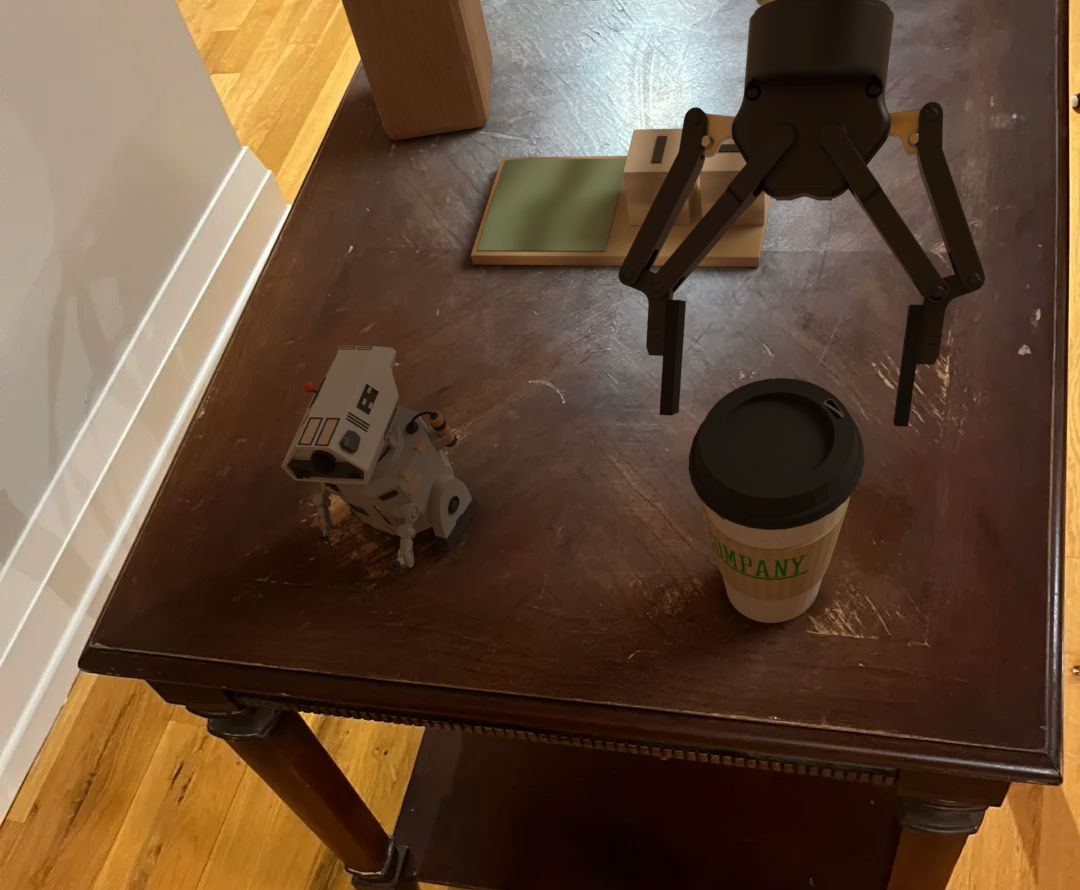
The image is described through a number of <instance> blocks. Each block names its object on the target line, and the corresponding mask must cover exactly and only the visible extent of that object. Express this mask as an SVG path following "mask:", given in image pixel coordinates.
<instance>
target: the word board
mask: <svg viewBox="0 0 1080 890" xmlns="http://www.w3.org/2000/svg"><path fill="white" fill-rule="evenodd" d="M682 128H683V127H682ZM682 128H681V127H680V128H648V129H647V128H644V129H643V128H642V129H641V128H640V129H638V128H637V129H636V128H635V129H633V131H632V135H631V140H630V144H629V148H628V152H627V155H588V156H587V155H585V156H584V155H580V156H576V155H575V156H524V157H523V156H521V157H519V156H518V157H501V159H500V162H499V166H498V169H497V172H496V175H495V178H494V181H493V183H492V187H491V191H490V193H489V197H488V200H487V203H486V206H485V209H484V213H483V216H482V219H481V222H480V225H479V228H478V231H477V234H476V238H475V240H474V243H473V247H472V250H471V253H470V258H471V262H472V265H482V266H483V265H485V266H487V265H489V266H490V265H493V266H494V265H496V266H498V265H499V266H500V265H501V266H502V265H503V266H593V267H594V266H595V267H596V266H597V267H598V266H599V267H601V266H603V267H604V266H606V267H607V266H609V267H616V266H617V267H621V266H622V264H623V262H624V260H625V258H626V256H627V254H628V252H629V250H630V248H631V246H632V244H633V242H634V240H635V238H636V236H637V234H638V232H639V230H640V228H641V226H642V224H643V222H644V220H645V218H646V216H647V214H648V212H649V210H650V208H651V206H652V204H653V202H654V200H655V198H656V196H657V194H658V192H659V190H660V188H661V186H662V184H663V182H664V180H665V178H666V176H667V174H668V172H669V170H670V168H671V166H672V164H673V162H674V160H675V158H676V156H677V154H678V152H679V147H680V141H681V134H682ZM746 164H747V163H746V162H745V160H744V158H743V157H742V155H741V153H740V151H739V150H738V148H737V146H736V144H735V143H734V141H733V139H728V140H726V141H724V142H723V143H722V144H721V146H720V149H719V151H718V152H717V154H716V155H714V156H713V157H706V158H705V162H704V165H703V168H702V170H701V172H700V174H699V177H698V179H697V181H696V182H695V184H694V186H693V188H692V190H691V192H690V194H689V196H688V198H687V200H686V202H685V204H684V206H683V208H682V210H681V212H680V214H679V216H678V218H677V219H676V221H675V223H674V225H673V227H672V229H671V231H670V233H669V235H668V237H667V239H666V241H665V243H664V245H663V247H662V249H661V251H660V253H659V255H658V256H657V258H656V260H655V262H654V264H653V266H652V267H662V266H663V265H664V263H665V262H666V261H667V260H668V259H669V257H670V256H671V255H672V254H673V253H674V251H675V250H676V249H677V248H678V247H679V246H680V244H681V243H682V242H683V241H684V240H685V238H686V237H687V236H688V235H689V234H690V232H691V231H692V230H693V229H694V228H695V227H696V225H697V224H698V223H699V222H700V221H701V219H702V218H703V217H704V216H705V215H706V213H707V212H708V211H709V210H710V209H711V208H712V206H713V205H714V204H715V203H716V202H717V200H718V199H719V198H720V197H721V196H722V194H723V193H724V192H725V191H726V189H727V187H728V186H729V184H730V183H731V182H732V180H733V179H734V178H735V177H736V175H737V174H738V173H739V172H740V171H741V170H742V168H743V167H744V166H745V165H746ZM771 198H772V197H770V196H768V195H767V194H766V193H765V192H764V191H763V192H762V193H761V194H760V195H759V197H758V198H757V199H756V200H755V201H754V202H753V203H752V205H751V206H750V207H749V208H747V209H746V210H745V211H744V212H743V213H742V215H741V216H740V217H739V218H738V219H737V220H736V222H735V223H734V224H733V225H732V226H731V227H730V228H729V230H728V231H727V232H726V233H725V234H724V235H723V237H722V238H721V239H720V240H719V241H718V242H717V244H716V245H715V246H714V247H713V248H712V249H711V251H710V252H709V253H708V254H707V255H706V256H705V258H704V259H703V260H702V261H701V262H700V263H699V265H698V266H697V267H702V268H703V267H705V268H706V267H708V268H709V267H710V268H711V267H712V268H713V267H717V268H719V267H720V268H721V267H722V268H727V267H728V268H729V267H730V268H759V267H760V265H761V259H762V252H763V247H764V241H765V236H766V229H767V224H768V219H769V218H768V217H769V213H770V207H771V206H770V205H771V200H772V199H771Z"/></svg>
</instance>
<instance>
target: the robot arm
mask: <svg viewBox="0 0 1080 890" xmlns="http://www.w3.org/2000/svg"><path fill="white" fill-rule="evenodd" d="M754 1H755V3H756V4H757V5H759V7H758V8H756V10H755V11H754V13H753V14H752V15H751V16H750V17H749V21H748V35H747V48H746V58H745V59H746V61H745V72H744V73H745V74H744V84H743V85H744V87H743V97H742V100H741V104H740V107H739V109H738V111H737V113H736V114H735V116H734V115H733V116H731V115H724V114H715V113H706V112H705V111H704V110H703V109H702V108H700V107H698V106H695V107H691V108H689V109H688V110H687V111H686V113H685V114H684V117H683V122H682V134H681V141H680V147H679V152H678V154H677V156H676V158H675V160H674V162H673V164H672V166H671V168H670V170H669V172H668V174H667V176H666V178H665V180H664V182H663V184H662V186H661V188H660V190H659V192H658V194H657V196H656V198H655V200H654V202H653V204H652V206H651V208H650V210H649V212H648V214H647V216H646V218H645V220H644V222H643V224H642V226H641V228H640V230H639V232H638V234H637V236H636V238H635V240H634V242H633V244H632V246H631V248H630V250H629V252H628V254H627V256H626V258H625V260H624V262H623V264H622V266H620V268H619V270H618V279H619V282H620V283H621V284H622V285H624V286H626V287H629V288H632V289H634V290H636V291H639V292H641V293H642V294H644V296H645V297H646V299H647V304H648V306H647V326H646V342H645V347H646V350H647V354H648V356H655V357H656V356H657V357H662V366H661V381H660V382H661V384H660V396H659V397H660V399H659V402H660V403H659V413H658V414H659V416H674V415H676V414H678V413H679V412H680V401H681V384H682V368H683V354H684V341H685V340H684V337H685V324H686V309H687V300H684V299H683V300H682V299H674V296H675V295H674V294H675V293H676V291H678V289H679V288H680V287H681V286H682V284H684V282H685V281H686V280H687V279H688V277H689V276H690V275H692V273H693V272H694V270H695V269H696V268H697V267H699V266H698V265H699V263H700V262H701V261H702V260H703V259H704V258H705V256H706V255H707V254H708V253H709V252H710V251H711V249H712V248H713V247H714V246H715V245H716V244H717V242H718V241H719V240H720V239H721V238H722V237H723V235H724V234H725V233H726V232H727V231H728V230H729V228H730V227H731V226H732V225H733V224H734V223H735V222H736V220H737V219H738V218H739V217H740V216H741V215H742V213H743V212H744V211H745V210H746V209H747V208H749V207H750V206H751V205H752V203H753V202H754V201H755V200H756V199H757V198H758V197H759V195H760V194H761V193H762V192H763V191H764V192H765V193H766V194H767V195H768V196H770V197H771V198H772V199H775V200H776V201H777V202H778V201H779V202H781V201H786V202H787V201H789V202H791V201H794V200H798V199H800V198H807V199H811V200H815V201H819V202H820V201H822V202H824V201H827V202H828V201H833V199H836V198H838V197H841V196H842V195H843V194H845V193H846V192H847V191H849V193H850V194H851V195H852V197H854V199H855V201H856V202H857V204H858V205H859V207H860V208H861V210H863V212H864V213H865V215H866V216H867V218H868V219H869V221H870V223H872V225H873V227H874V228H875V230H876V231H877V233H878V234H879V236H880V237H881V238H882V240H883V241H884V243H885V244H886V246H887V247H888V249H889V250H890V251H891V253H892V254H893V256H894V258H895V259H896V260H897V261H898V263H899V265H900V266H901V267H902V269H903V270H904V272H905V274H906V275H907V277H908V278H909V279H910V282H912V284H913V286H914V287H915V288H916V290H917V291H918V292H919V294H920V295H921V297H922V302H921V304H908V307H907V315H906V322H905V330H904V336H903V345H902V352H901V353H902V354H901V361H900V367H899V375H898V383H897V390H896V391H897V392H896V398H895V399H896V400H895V407H894V414H893V422H892V423H893V426H894V427H909V423H910V415H911V407H912V400H913V393H914V392H913V391H914V386H915V379H916V378H915V377H916V370H917V365H927V366H928V365H929V366H930V365H931V366H934V365H935V364H936V362H937V360H938V358H939V356H940V349H941V342H942V337H943V330H944V322H945V316H946V315H945V314H946V310H947V307H948V305H949V303H950V302H951V301H953V300H954V299H956V298H960V297H962V296H965V295H968V294H971V293H974V292H976V291H978V290H980V289H981V288H982V287H983V286H984V285H985V282H986V274H985V271H984V268H983V265H982V262H981V259H980V256H979V254H978V250H977V247H976V244H975V242H974V238H973V235H972V232H971V229H970V226H969V223H968V220H967V217H966V214H965V211H964V208H963V206H962V202H961V200H960V196H959V194H958V191H957V188H956V185H955V182H954V179H953V176H952V174H951V173H952V172H951V170H950V167H949V164H948V161H947V158H946V155H945V152H944V149H943V139H944V138H943V137H944V133H943V132H944V130H943V129H944V110H943V106H942V105H941V103H938V102H937V101H930V102H927V103H925V104H924V105H923V106H921V108H917V109H911V110H904V111H896V112H889V110H888V107H887V103H886V89H887V80H888V71H889V64H890V54H891V46H892V37H893V28H894V21H895V20H894V19H895V13H894V12H893V10H891V6H889V4H888V3H886V2H888V1H889V0H754ZM890 137H894V138H896V139H897V140H898V141H899V143H900V145H901V148H902V151H903V152H904V153H905V154H906V155H908V156H916V162H917V167H918V170H919V175H920V178H921V180H922V183H923V186H924V188H925V192H926V195H927V197H928V201H929V203H930V206H931V210H932V212H933V216H934V217H935V221H936V224H937V227H938V230H939V233H940V235H941V238H942V242H943V245H944V248H945V250H946V253H947V256H948V259H949V262H950V265H951V268H952V271H953V274H951V275H948V276H945V277H943V276H942V275H941V274H940V272H939V271H938V269H937V268H936V266H935V265H934V263H933V261H932V260H931V259H930V258H929V256H928V254H927V253H926V252H925V250H924V249H923V247H922V246H921V244H920V243H919V241H918V240H917V238H916V237H915V235H914V234H913V232H912V231H911V230H910V228H909V226H908V225H907V224H906V222H905V221H904V219H903V218H902V217H901V214H900V213H899V212H898V211H897V209H896V207H895V206H894V204H893V203H892V202H891V200H890V198H889V197H888V196H887V194H886V193H885V191H884V189H883V188H882V186H881V184H880V183H879V182H878V179H877V178H876V176H875V175H874V173H872V171H871V169H870V168H869V167H868V165H869V164H870V162H871V161H872V160H873V159H874V157H875V156H876V155H877V153H878V152H879V151H880V150H881V148H882V147H883V146H884V145H885V143H886V142H887V140H888V138H890ZM728 139H733V141H734V143H735V144H736V146H737V148H738V150H739V151H740V153H741V155H742V157H743V158H744V160H745V162H746V163H747V164H746V165H745V166H744V167H743V168H742V170H741V171H740V172H739V173H738V174H737V175H736V177H735V178H734V179H733V180H732V182H731V183H730V184H729V186H728V187H727V189H726V191H725V192H724V193H723V194H722V196H721V197H720V198H719V199H718V200H717V202H716V203H715V204H714V205H713V206H712V208H711V209H710V210H709V211H708V212H707V213H706V215H705V216H704V217H703V218H702V219H701V221H700V222H699V223H698V224H697V225H696V227H695V228H694V229H693V230H692V231H691V232H690V234H689V235H688V236H687V237H686V238H685V240H684V241H683V242H682V243H681V244H680V246H679V247H678V248H677V249H676V250H675V251H674V253H673V254H672V255H671V256H670V257H669V259H668V260H667V261H666V262H665V263H664V265H663V266H660V268H659V269H658V270H657V271H656V272H654V271H652V268H653V267H654V266H653V264H654V262H655V260H656V258H657V256H658V255H659V253H660V251H661V249H662V247H663V245H664V243H665V241H666V239H667V237H668V235H669V233H670V231H671V229H672V227H673V225H674V223H675V221H676V219H677V218H678V216H679V214H680V212H681V210H682V208H683V206H684V204H685V202H686V200H687V198H688V196H689V194H690V192H691V190H692V188H693V186H694V184H695V182H696V181H697V179H698V177H699V174H700V172H701V170H702V168H703V165H704V162H705V158H706V157H713V156H714V155H716V154H717V152H718V151H719V149H720V146H721V144H722V143H723V142H724V141H726V140H728Z"/></svg>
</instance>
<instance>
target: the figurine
mask: <svg viewBox="0 0 1080 890" xmlns="http://www.w3.org/2000/svg"><path fill="white" fill-rule="evenodd" d="M396 357H397V350H395V349H394V348H393V347H392V346H379V345H378V346H377V345H340V347H339V348H338V351H337V354H336V356H335V358H334V359H333V361H332V363H331V365H330V367H329V368H328V370H327V372H326V374H325V376H324V377H323V379H322V380H321V382H320V384H319V385H318V387H317V389H315V386H314V384H313V383H312V382H309V381H308V382H305V383H304V385H303V390H304V391H305V392H306V393H309V394H310V393H312V392H313V395H312V398H311V400H310V402H309V405H308V406H307V409H306V411H305V413H304V416H303V417H302V420H301V422H300V424H299V427H298V429H297V430H296V433H295V435H294V436H293V439H292V442H291V443H290V446H289V448H288V450H287V452H286V454H285V456H284V458H282V459H281V460H282V463H281V465H280V467H281V469H282V470H284V471H285V473H287V474H288V476H290V477H291V478H292V479H293V480H294V481H296V482H297V481H298V482H308V483H309V482H310V483H311V482H313V483H320V487H321V489H320V492H319V493H316V494H314V495H313V496H312V503H313V505H314V506H316V512H317V515H318V516H317V517H316V522H317V525H318V527H319V529H320V530H321V532H322V535H323V536H318V537H317V540H318V541H319V543H320V545H321V546H322V547H324V544H323V542H327V545H328V547H329V552H330V553H331V552H334V549H333V547H332V544H331V541H330V538H331V533H330V531H331V532H333V531H334V529H335V528H334V523H333V521H332V519H331V510H330V507H331V505H332V501H331V500H332V499H330V498H329V496H330V494H332V495H334V496H338V497H339V498H340V499H341V500H342V501H343V502H344V503H345V505H346V506H347V507H348V508H349V511H350V514H351V516H354V517H357V518H358V519H359V520H360V521H361V522H362V523H364V524H367V525H370V526H371V527H372V528H374V529H377V530H379V531H383V532H385V533H388V534H391V535H393V536H399V537H400V540H399V547H400V548H399V549H398V551H397V558H396V559H389V561H388V562H389V567H390V570H388V572H389V575H390V578H391V579H394V577H395V574H396V571H397V568H399V567H400V568H402V569H404V568H406V567H408V568H413V566H414V564H415V553H414V551H413V543H414V541H413V539H414V538H415V536H416V534H418V533H421V532H423V531H425V530H427V529H430V528H432V530H433V532H434V534H433V540H434V544H435V547H438V548H441V549H444V550H447V551H451V550H452V549H454V548H455V547H456V542H457V541H459V540H460V539H461V537H462V532H463V531H464V529H465V528H466V527H468V526H469V524H470V521H471V519H472V518H474V517H475V514H476V510H477V509H478V508H479V503H478V502H477V500H476V498H475V497H473V496H472V495H471V493H470V491H469V489H468V487H467V486H466V484H465V483H464V482H463V481H462V480H461V479H459V478H457V477H455V475H454V471H453V468H452V465H451V463H450V460H449V457H448V456H447V454H446V453H445V452H446V450H447V448H452V447H454V446H455V445H456V444H457V442H458V437H457V435H456V433H455V432H454V431H452V429H451V428H450V425H449V424H448V422H447V419H446V418H445V417H444V416H443V414H442V412H441V411H439V410H437V409H433V410H430V411H423V412H422V411H421V412H420V413H419V412H418V411H417V410H415V409H411V408H408V407H406V406H402V405H399V401H400V396H399V392H398V388H397V385H396V381H395V377H394V374H393V369H394V366H395V364H396ZM425 415H427V420H428V421H429V423H430V425H428V426H427V424H426V422H425V421H424V420H423V418H422V416H425Z"/></svg>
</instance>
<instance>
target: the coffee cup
mask: <svg viewBox="0 0 1080 890" xmlns="http://www.w3.org/2000/svg"><path fill="white" fill-rule="evenodd" d="M826 404H827V405H826ZM828 405H829V406H828ZM832 408H833V409H832ZM834 409H835V410H834ZM837 411H838V412H839V413H838V412H837ZM840 413H841V414H842V415H843V416H841V414H840ZM865 461H866V460H865V446H864V441H863V438H862V435H861V431H860V429H859V427H858V425H857V424H856V421H855V420H854V419H853V417H852V416H851V414H850V412H849V410H848V409H847V408H846V405H845V404H844V403H843V402H842V401H841V400H840V399H839V398H838V397H837V396H836V395H835V394H833V393H832V392H830V391H828V390H827V389H826V388H824V387H822V386H820V385H817V384H816V383H813V382H810V381H805V380H802V379H799V378H787V377H776V378H775V377H774V378H765V379H760V380H756V381H751V382H749V383H746V384H744V385H741V386H739V387H737V388H735V389H733V390H732V391H729V392H727V394H725V395H724V396H723V397H721V398H720V399H719V400H718V401H716V403H714V405H713V406H712V408H711V409H710V410H708V413H707V414H706V416H705V418H704V420H703V421H701V424H700V425H699V427H698V429H697V431H696V433H695V434H694V436H693V439H692V442H691V446H690V449H689V453H688V473H689V478H690V483H691V485H692V487H693V489H694V491H695V493H696V495H697V496H698V497H699V499H700V503H701V507H702V512H703V515H704V520H705V523H706V527H707V530H708V534H709V538H710V542H711V545H712V549H713V553H714V556H715V557H714V558H715V561H716V564H717V568H718V570H719V573H720V574H721V576H722V579H723V583H724V586H725V591H726V595H727V597H728V600H729V602H730V603H731V605H732V606H733V608H734V609H735V610H737V611H738V612H739V613H740V614H742V615H743V616H745V617H746V618H747V619H750V620H753V621H756V622H758V623H759V622H760V623H765V624H776V623H782V622H788V621H790V620H792V619H796V618H797V617H799V616H800V615H803V614H804V613H805V612H806V611H807V610H808V609H810V607H811V606H812V604H813V603H814V602H815V600H816V598H817V596H818V594H819V590H820V586H821V583H822V582H823V581H822V580H823V577H824V576H825V574H826V573H827V570H828V568H829V566H830V563H831V559H832V557H833V555H834V554H833V553H834V550H835V548H836V544H837V541H838V538H839V535H840V532H841V529H842V526H843V523H844V520H845V517H846V513H847V510H848V507H849V504H850V498H851V495H852V494H853V493H854V491H856V489H857V486H858V485H859V482H860V480H861V478H862V476H863V472H864V468H865Z"/></svg>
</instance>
